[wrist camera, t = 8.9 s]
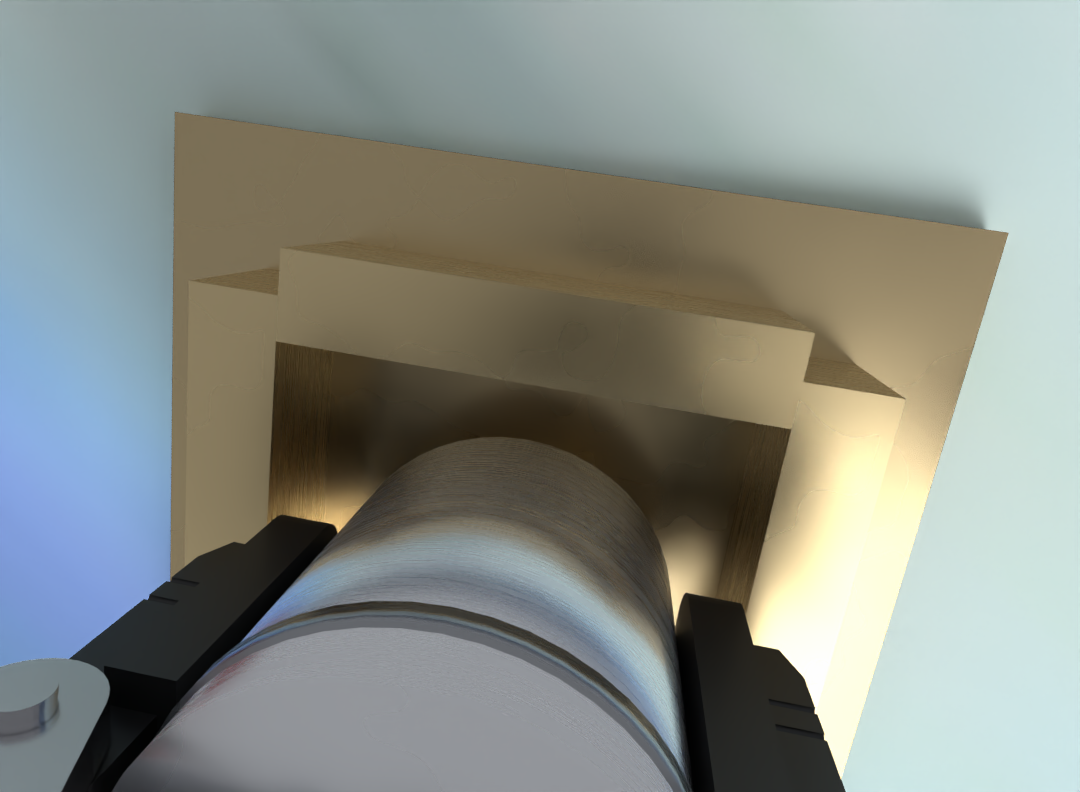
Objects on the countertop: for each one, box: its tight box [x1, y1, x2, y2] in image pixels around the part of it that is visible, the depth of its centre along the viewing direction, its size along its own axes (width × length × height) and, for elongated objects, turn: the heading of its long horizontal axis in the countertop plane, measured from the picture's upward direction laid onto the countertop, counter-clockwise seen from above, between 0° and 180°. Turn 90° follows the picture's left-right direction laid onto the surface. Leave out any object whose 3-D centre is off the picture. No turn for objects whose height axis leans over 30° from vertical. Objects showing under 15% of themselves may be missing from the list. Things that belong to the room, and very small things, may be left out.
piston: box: [112, 437, 694, 792], centre depth 8 cm, size 5×5×5 cm
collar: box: [170, 112, 1008, 778], centre depth 11 cm, size 12×12×3 cm
